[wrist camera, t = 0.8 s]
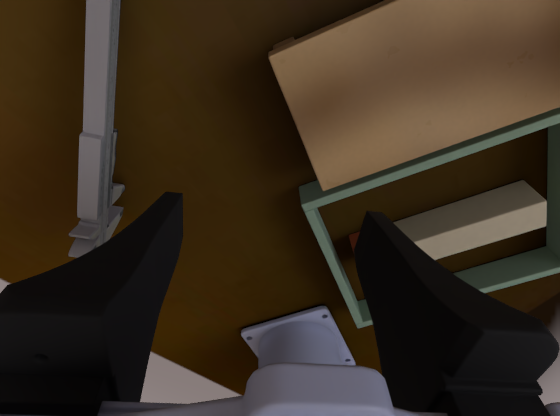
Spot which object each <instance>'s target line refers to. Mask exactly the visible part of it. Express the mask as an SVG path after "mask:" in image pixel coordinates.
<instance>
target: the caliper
mask: <svg viewBox="0 0 560 416" xmlns="http://www.w3.org/2000/svg"><path fill="white" fill-rule="evenodd" d="M120 5H121V0H86V32H85V71H84V111H83V132H82V133H81V134H80V135H79V168H78V203H77V217H79V218H81V220H80V221H79V224H78V226H76V227H75V228H74V229H73V230H72V231H71V232H70V233H69V236H71V237H77V238H76V239H75V241H74V243H73V245H72V246H71V249H70V251H69V254H68V256H71V257H80V256H82V255H84V254H86V253H88V252H89V251H91V250H93V249H95V248H97V247H98V246H100V245H102V244H103V243H105V242H106V241H108V240H109V239H110V237H111V236H112V234H113V232H114V230H115V228H116V226H117V224H118V222H119V221H120V219H121V217H122V213H123V207H118V206H112V204H113V203H114V202H115V201H116V200H117V199H118V198H119V197H120V196H121V193H123V192H124V190H125V186H124V185H123V184H118V183H112V175H113V173H114V166H115V160H116V142H117V135H118V130H117V129H115V128H113V126H114V109H115V91H116V74H117V56H118V39H119V21H120Z"/></svg>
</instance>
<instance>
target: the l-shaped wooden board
mask: <svg viewBox="0 0 560 416" xmlns="http://www.w3.org/2000/svg"><path fill="white" fill-rule="evenodd" d="M268 58H269V61H270V63H271V66H272V68H273V71H274V73H275V76H276V78H277V80H278V83H279V85H280V88H281V90H282V93H283V95H284V98H285V100H286V103H287V105H288V108H289V110H290V112H291V115H292V117H293V120H294V122H295V125H296V127H297V130H298V132H299V135H300V137H301V139H302V142H303V144H304V147H305V149H306V152H307V154H308V157H309V159H310V162H311V164H312V167H313V169H314V171H315V174H316V176H317V179H318V181H319V184H320V186H321V189H322V191H325V190H328V189H331V188H334V187H337V186H339V185H342V184H345V183H348V182H351V181H353V180H356V179H359V178H362V177H365V176H367V175H370V174H373V173H376V172H379V171H381V170H384V169H387V168H390V167H393V166H396V165H398V164H401V163H404V162H407V161H410V160H412V159H415V158H418V157H421V156H424V155H426V154H429V153H432V152H435V151H438V150H440V149H443V148H446V147H449V146H452V145H454V144H457V143H460V142H463V141H466V140H468V139H471V138H474V137H477V136H480V135H482V134H485V133H488V132H491V131H494V130H496V129H499V128H502V127H505V126H508V125H511V124H513V123H516V122H519V121H522V120H525V119H527V118H530V117H533V116H536V115H539V114H541V113H544V112H547V111H550V110H553V109H555V108H558V107H560V0H384V1H382V2H380V3H378V4H375V5H373V6H371V7H369V8H366V9H364V10H362V11H360V12H357V13H355V14H353V15H351V16H348V17H346V18H344V19H342V20H339V21H337V22H335V23H333V24H330V25H328V26H326V27H324V28H321V29H319V30H317V31H315V32H312V33H310V34H308V35H306V36H303V37H301V38H299V39H297V40H295V39H294V37H291V38H288V39H286V40H284V41H282V42H280V43H277V44H275V45H273V50H272V51H270V52H268Z"/></svg>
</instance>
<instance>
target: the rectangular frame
mask: <svg viewBox="0 0 560 416" xmlns="http://www.w3.org/2000/svg"><path fill="white" fill-rule="evenodd" d="M546 127H548V165H547V232H546V246H545V247H542V248H538V249H535V250H531V251H528V252H525V253H521V254H518V255H514V256H511V257H507V258H504V259H501V260H497V261H494V262H490V263H487V264H483V265H480V266H477V267H473V268H470V269H466V270H463V271H460V272H456V273H453V274H454V275H456V276H457V277H459V278H460V279H462V280H463V281H465V282H466V283H468V284H470V285H471V286H473V287H475V288H476V289H478V290H480V291H481V292H483V293H487V292H491V291H494V290H498V289H501V288H505V287H509V286H512V285H516V284H519V283H523V282H527V281H530V280H534V279H537V278H541V277H545V276H548V275H552V274H555V273H559V272H560V107H558V108H555V109H553V110H550V111H547V112H544V113H541V114H539V115H536V116H533V117H530V118H527V119H525V120H522V121H519V122H516V123H513V124H511V125H508V126H505V127H502V128H499V129H496V130H494V131H491V132H488V133H485V134H482V135H480V136H477V137H474V138H471V139H468V140H466V141H463V142H460V143H457V144H454V145H452V146H449V147H446V148H443V149H440V150H438V151H435V152H432V153H429V154H426V155H424V156H421V157H418V158H415V159H412V160H410V161H407V162H404V163H401V164H398V165H396V166H393V167H390V168H387V169H384V170H381V171H379V172H376V173H373V174H370V175H367V176H365V177H362V178H359V179H356V180H353V181H351V182H348V183H345V184H342V185H339V186H337V187H334V188H331V189H328V190H325V191H322V189H321V186H320V184H319V181H318V180H316V181H313V182H310V183H308V184H305V185H302V186H299V193H300V200H301V206H302V208H303V210H304V212H305V215H306V217H307V219H308V221H309V223H310V226H311V228H312V230H313V232H314V234H315V236H316V239H317V241H318V243H319V245H320V247H321V250H322V252H323V254H324V256H325V258H326V260H327V263H328V265H329V267H330V269H331V271H332V273H333V276H334V278H335V280H336V282H337V284H338V287H339V289H340V291H341V293H342V295H343V297H344V300H345V302H346V304H347V306H348V308H349V311H350V313H351V315H352V317H353V319H354V321H355V324H356V326H357V328H361V327H365V326H368V325H372V324H373V322H372V318H371V315H370V312H369V309H368V306H367V302H366V299H364V300H360V301H357V299H356V297H355V295H354V292H353V290H352V288H351V285H350V283H349V281H348V278H347V276H346V274H345V271H344V269H343V267H342V264H341V262H340V260H339V257H338V255H337V253H336V250H335V248H334V246H333V244H332V241H331V239H330V237H329V234H328V232H327V230H326V227H325V225H324V223H323V220H322V218H321V216H320V213H319V211H318V209H317V207H320V206H323V205H326V204H329V203H331V202H334V201H337V200H340V199H343V198H346V197H349V196H352V195H354V194H357V193H360V192H363V191H366V190H369V189H372V188H374V187H377V186H380V185H383V184H386V183H389V182H392V181H394V180H397V179H400V178H403V177H406V176H409V175H412V174H415V173H417V172H420V171H423V170H426V169H429V168H432V167H435V166H437V165H440V164H443V163H446V162H449V161H452V160H455V159H458V158H460V157H463V156H466V155H469V154H472V153H475V152H478V151H480V150H483V149H486V148H489V147H492V146H495V145H498V144H500V143H503V142H506V141H509V140H512V139H515V138H518V137H521V136H523V135H526V134H529V133H532V132H535V131H538V130H541V129H543V128H546Z"/></svg>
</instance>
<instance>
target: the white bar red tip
mask: <svg viewBox="0 0 560 416" xmlns="http://www.w3.org/2000/svg"><path fill="white" fill-rule="evenodd" d="M546 220H547V201H546V200H545V199H544V198H543V197H542V196H541V195H540V194H539V193H537V192H536V191H535V190H534V189H533V188H532V187H531V186H530V185H528V184H527V183H526V182H525V181H524V180H521V181H518V182H515V183H512V184H509V185H506V186H503V187H500V188H496V189H493V190H490V191H487V192H484V193H481V194H478V195H475V196H472V197H469V198H466V199H463V200H460V201H457V202H454V203H451V204H448V205H445V206H442V207H438V208H435V209H432V210H429V211H426V212H423V213H420V214H417V215H414V216H411V217H408V218H405V219H402V220H399V221H396V222H393V223H394V224H395V225H396V226H397V227H398V228H399V229H400V230H401V231H402V232H403V233H404V234H405V235H406V236H407V237H409V238H410V239H411V240H412V241H413V242H414V243H415V244H416V245H417V246H418V247H420V248H421V249H422V250H423V251H424V252H425V253H427V254H428V255H429V256H430V257H431V258H433V259H434V260H436V259H439V258H442V257H446V256H449V255H452V254H456V253H459V252H462V251H466V250H469V249H472V248H476V247H479V246H482V245H485V244H489V243H492V242H495V241H499V240H502V239H505V238H509V237H512V236H515V235H519V234H522V233H525V232H529V231H532V230H535V229H538V228H542V227H545V226H546ZM359 233H360V231H359V232H356V233H353V234H350V235H349V239H350V242H351V246H352V249H353V252H354V248H355V245H356V242H357V239H358V236H359ZM354 256H355V255H354Z"/></svg>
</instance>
